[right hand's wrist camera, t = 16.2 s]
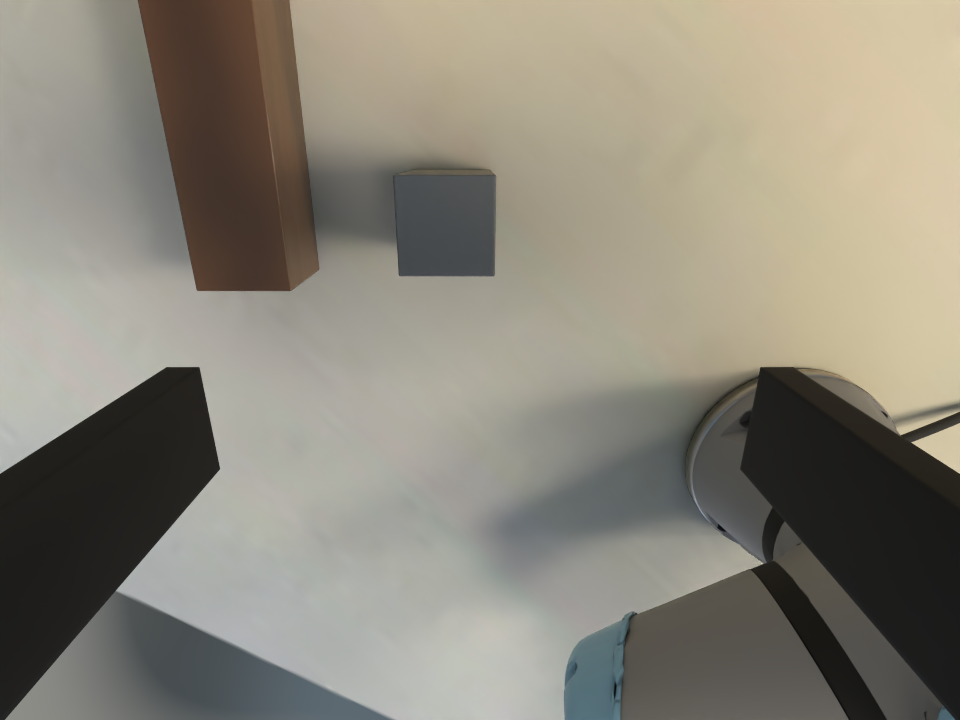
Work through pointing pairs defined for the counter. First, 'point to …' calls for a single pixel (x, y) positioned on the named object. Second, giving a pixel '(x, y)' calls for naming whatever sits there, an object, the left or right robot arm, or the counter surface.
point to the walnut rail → (235, 139)
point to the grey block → (445, 222)
